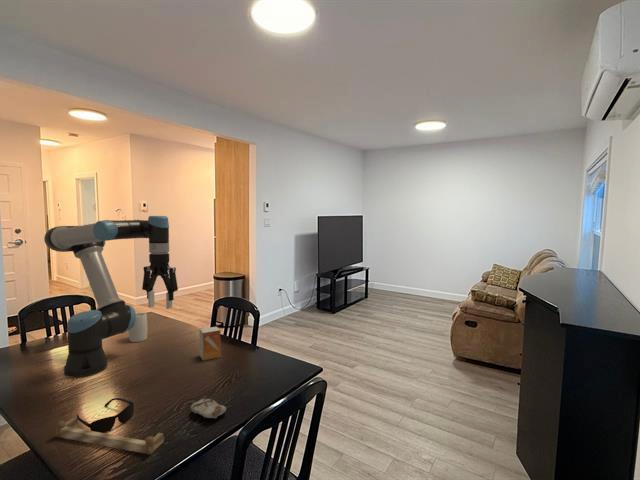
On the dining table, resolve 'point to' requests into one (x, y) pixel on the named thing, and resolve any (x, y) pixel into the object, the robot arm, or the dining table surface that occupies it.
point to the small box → (209, 343)
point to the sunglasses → (110, 418)
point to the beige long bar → (108, 438)
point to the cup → (139, 328)
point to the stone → (208, 408)
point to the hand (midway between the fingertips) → (160, 307)
